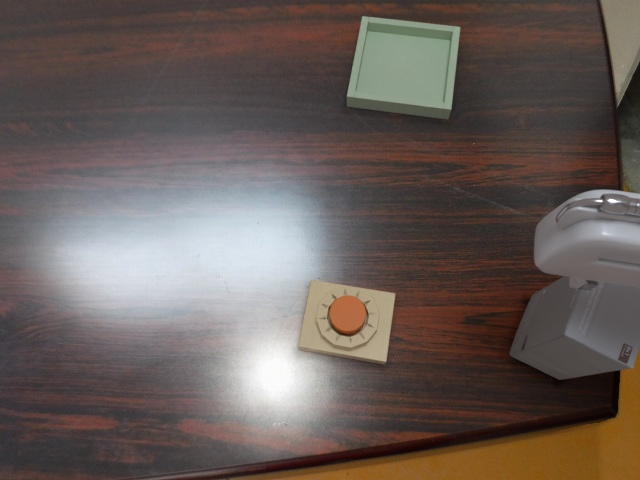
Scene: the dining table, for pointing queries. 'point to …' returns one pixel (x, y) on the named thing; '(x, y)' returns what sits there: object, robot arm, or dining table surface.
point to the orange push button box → (358, 345)
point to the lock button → (347, 314)
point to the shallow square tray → (404, 67)
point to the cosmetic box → (579, 330)
